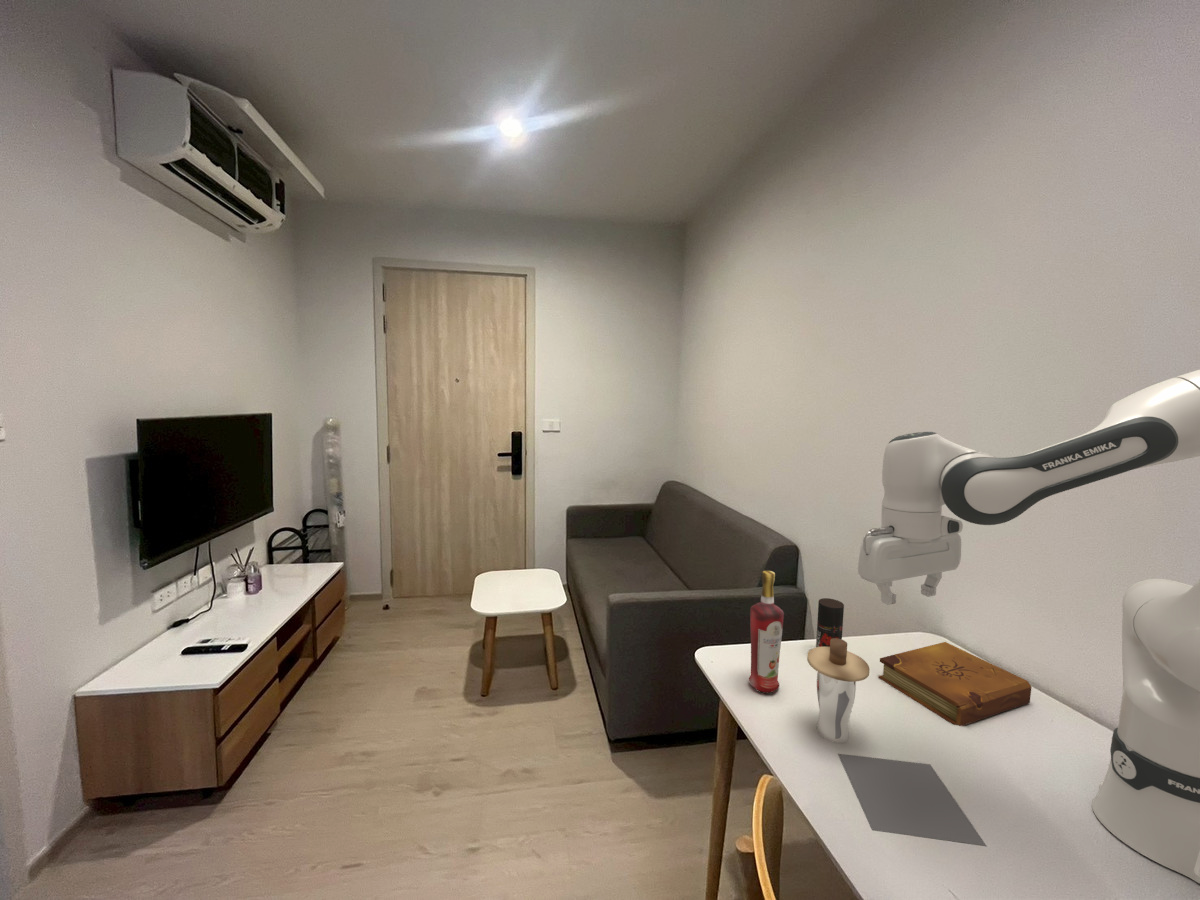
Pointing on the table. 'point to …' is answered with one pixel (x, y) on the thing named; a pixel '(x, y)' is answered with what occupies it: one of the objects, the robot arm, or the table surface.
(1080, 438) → the robot arm
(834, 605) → the deodorant
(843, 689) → the beer glass
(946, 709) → the diary
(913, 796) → the rubber mat
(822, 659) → the oak lid
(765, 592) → the liquor
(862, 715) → the table surface
